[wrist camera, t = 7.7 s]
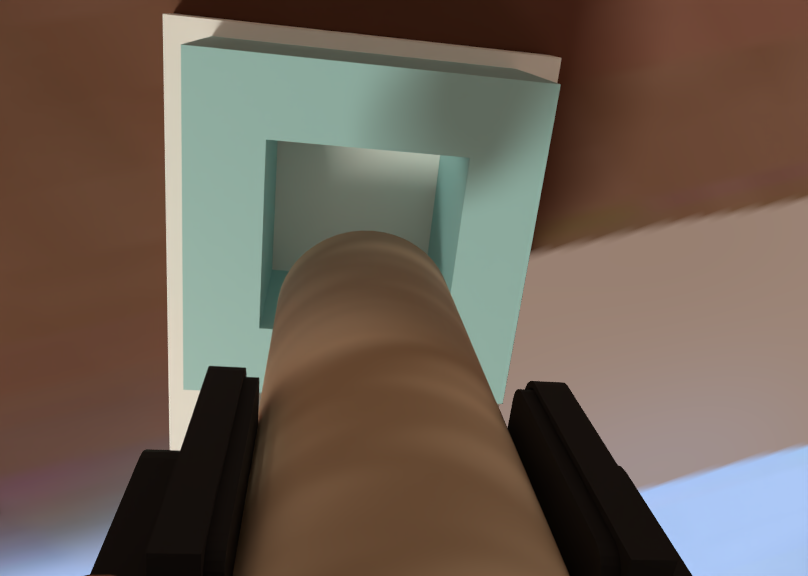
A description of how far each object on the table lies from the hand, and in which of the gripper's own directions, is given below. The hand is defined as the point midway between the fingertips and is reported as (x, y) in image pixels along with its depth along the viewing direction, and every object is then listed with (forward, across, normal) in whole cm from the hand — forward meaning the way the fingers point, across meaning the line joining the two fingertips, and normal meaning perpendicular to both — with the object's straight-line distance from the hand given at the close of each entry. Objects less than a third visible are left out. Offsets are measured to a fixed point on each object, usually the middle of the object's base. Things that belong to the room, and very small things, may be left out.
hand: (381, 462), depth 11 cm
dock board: (+17, 0, +7) cm, 18 cm away
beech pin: (+6, 0, 0) cm, 6 cm away
